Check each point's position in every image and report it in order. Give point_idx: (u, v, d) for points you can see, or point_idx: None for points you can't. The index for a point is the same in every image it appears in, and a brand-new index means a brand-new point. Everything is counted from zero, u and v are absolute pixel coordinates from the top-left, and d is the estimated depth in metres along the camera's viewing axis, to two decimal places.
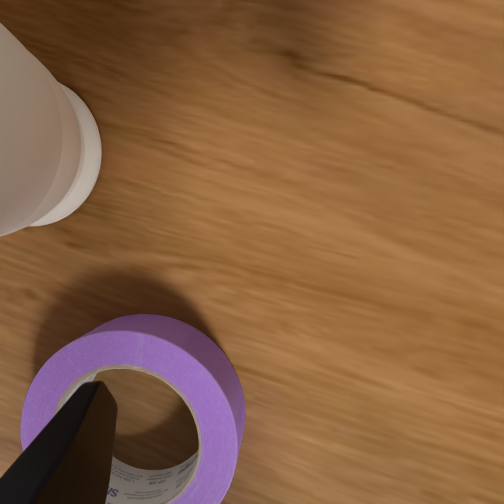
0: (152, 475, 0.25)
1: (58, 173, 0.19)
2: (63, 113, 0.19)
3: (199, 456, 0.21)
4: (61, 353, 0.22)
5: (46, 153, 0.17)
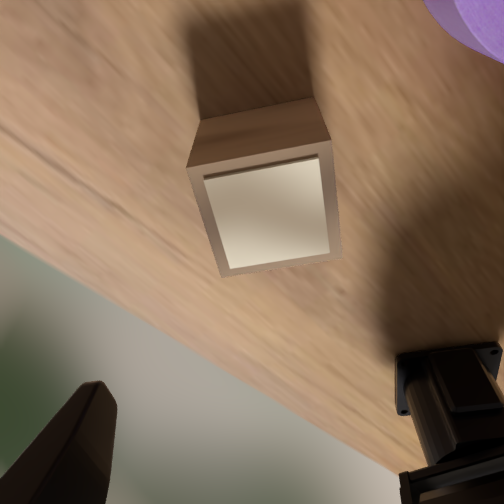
0: None
1: None
2: None
3: None
4: None
5: None
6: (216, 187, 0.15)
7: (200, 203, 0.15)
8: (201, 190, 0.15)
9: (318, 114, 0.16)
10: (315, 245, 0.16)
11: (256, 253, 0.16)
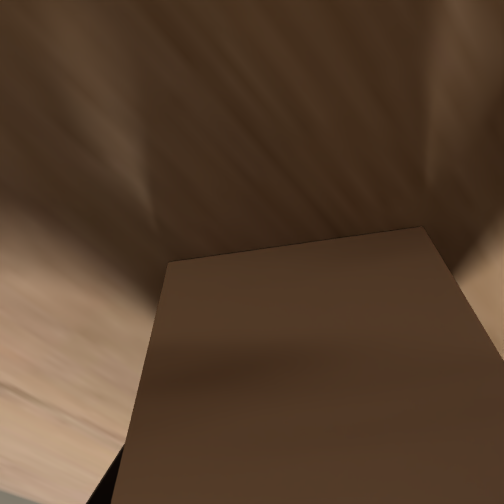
0: None
1: None
2: None
3: None
4: None
5: None
6: None
7: None
8: None
9: (470, 317, 0.06)
10: None
11: None
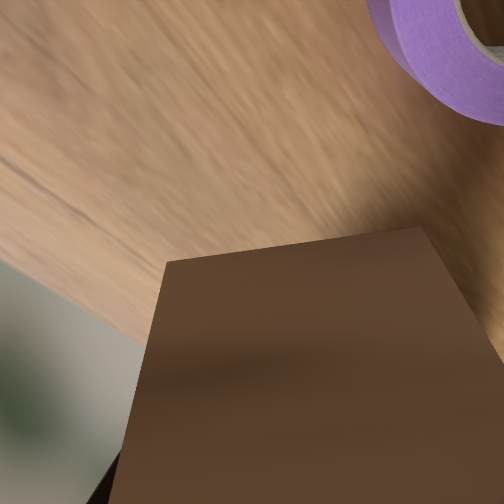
0: None
1: None
2: None
3: None
4: None
5: None
6: None
7: None
8: None
9: (468, 317, 0.06)
10: None
11: None
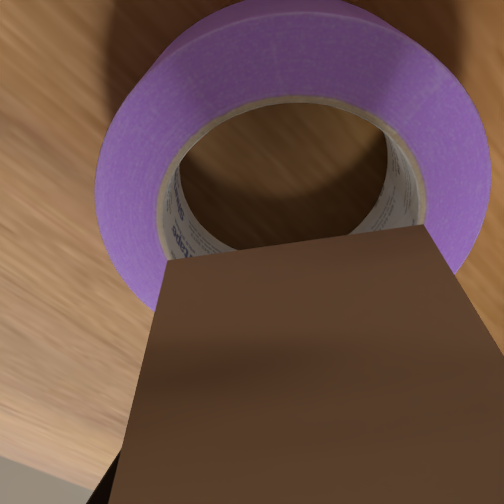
0: None
1: None
2: None
3: None
4: (264, 26, 0.09)
5: None
6: None
7: None
8: None
9: (471, 315, 0.06)
10: None
11: None
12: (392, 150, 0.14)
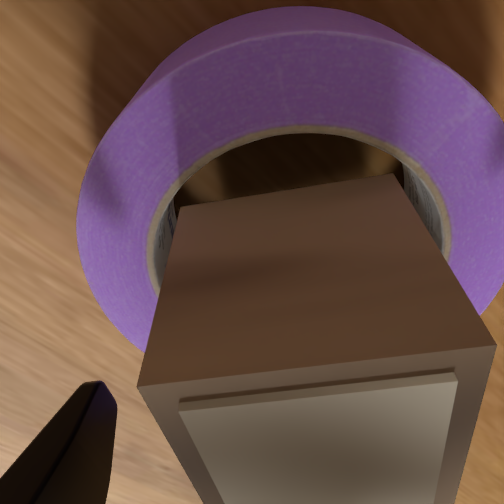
0: None
1: None
2: None
3: None
4: (268, 47, 0.08)
5: None
6: (208, 415, 0.07)
7: (173, 437, 0.07)
8: (174, 422, 0.07)
9: (423, 232, 0.08)
10: (408, 495, 0.08)
11: (286, 503, 0.08)
12: (409, 177, 0.13)
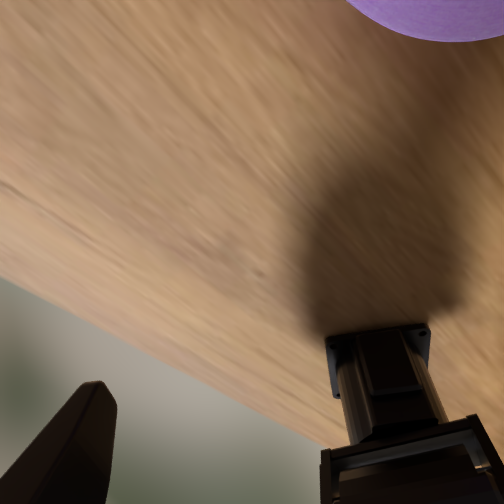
0: None
1: None
2: None
3: None
4: None
5: None
6: None
7: None
8: None
9: None
10: None
11: None
12: None
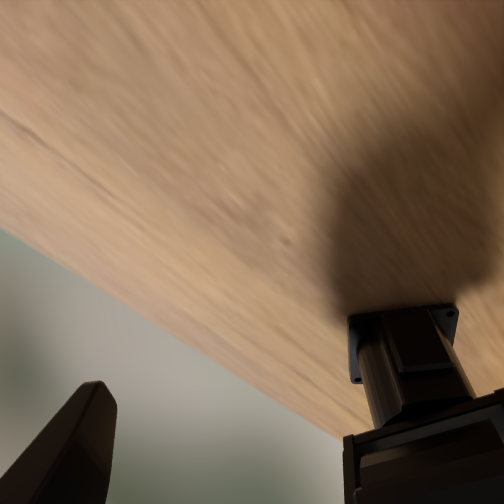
0: None
1: None
2: None
3: None
4: None
5: None
6: None
7: None
8: None
9: None
10: None
11: None
12: None
